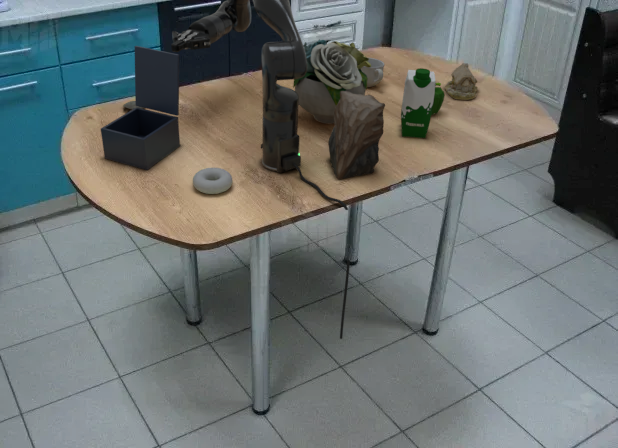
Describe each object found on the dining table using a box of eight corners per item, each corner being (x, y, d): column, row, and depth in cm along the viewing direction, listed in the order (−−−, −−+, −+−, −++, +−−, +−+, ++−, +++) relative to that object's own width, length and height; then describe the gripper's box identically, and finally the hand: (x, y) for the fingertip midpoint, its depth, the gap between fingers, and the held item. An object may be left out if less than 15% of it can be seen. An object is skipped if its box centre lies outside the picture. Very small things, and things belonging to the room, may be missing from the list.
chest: (147, 170, 175) (144, 139, 170) (104, 158, 179) (100, 128, 174) (180, 146, 187) (178, 117, 182) (139, 135, 191) (136, 107, 186)
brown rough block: (326, 156, 185) (330, 88, 174) (370, 154, 187) (377, 87, 176) (335, 179, 175) (341, 108, 164) (382, 177, 177) (390, 107, 166)
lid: (177, 55, 174) (179, 54, 175) (134, 46, 178) (136, 45, 179) (177, 115, 181) (178, 115, 182) (135, 105, 186) (137, 105, 186)
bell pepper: (412, 115, 211) (416, 85, 205) (417, 105, 217) (421, 76, 212) (438, 119, 209) (443, 89, 203) (443, 109, 215) (448, 80, 210)
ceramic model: (442, 83, 234) (447, 55, 228) (474, 85, 234) (480, 57, 228) (448, 99, 222) (452, 70, 217) (481, 101, 222) (487, 72, 217)
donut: (231, 197, 166) (234, 176, 174) (231, 185, 164) (233, 165, 172) (190, 196, 165) (195, 175, 173) (189, 184, 163) (194, 164, 171)
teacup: (346, 79, 234) (348, 57, 229) (375, 76, 237) (377, 54, 232) (360, 94, 223) (362, 71, 218) (390, 92, 226) (393, 69, 221)
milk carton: (398, 137, 197) (407, 72, 186) (398, 124, 205) (406, 61, 193) (428, 140, 197) (439, 75, 185) (427, 127, 204) (437, 63, 193)
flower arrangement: (324, 144, 192) (329, 61, 178) (271, 113, 207) (272, 35, 194) (385, 123, 205) (394, 45, 192) (332, 95, 221) (337, 21, 207)
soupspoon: (143, 105, 210) (122, 108, 208) (141, 95, 208) (120, 98, 206) (159, 132, 193) (136, 136, 191) (157, 121, 191) (134, 125, 189)
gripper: (186, 14, 197) (152, 30, 184) (226, 22, 193) (193, 39, 180) (188, 39, 201) (154, 57, 188) (226, 47, 197) (195, 66, 184)
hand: (174, 48), depth 184 cm, fingers closed
